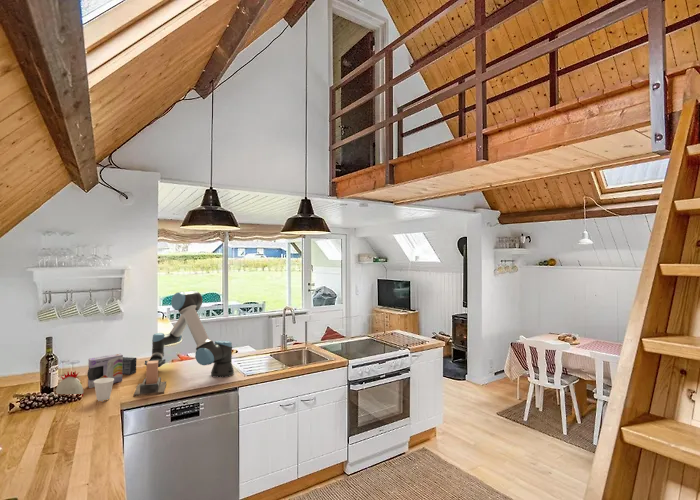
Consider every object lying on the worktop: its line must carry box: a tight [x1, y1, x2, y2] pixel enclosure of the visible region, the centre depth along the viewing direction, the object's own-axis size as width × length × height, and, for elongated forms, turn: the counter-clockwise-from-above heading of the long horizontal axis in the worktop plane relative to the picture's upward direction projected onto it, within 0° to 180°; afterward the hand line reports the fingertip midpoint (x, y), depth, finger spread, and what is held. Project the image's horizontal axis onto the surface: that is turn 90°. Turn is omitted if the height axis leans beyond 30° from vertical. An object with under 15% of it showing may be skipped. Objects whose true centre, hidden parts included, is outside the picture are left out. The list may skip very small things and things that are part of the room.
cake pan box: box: [86, 353, 124, 389], centre depth 245 cm, size 19×5×18 cm, turn 137°
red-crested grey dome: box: [55, 370, 84, 397], centre depth 223 cm, size 14×14×15 cm
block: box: [145, 360, 159, 384], centre depth 244 cm, size 6×6×14 cm
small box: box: [122, 356, 138, 376], centre depth 268 cm, size 11×6×10 cm, turn 84°
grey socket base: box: [132, 376, 167, 398], centre depth 238 cm, size 16×20×6 cm
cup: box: [94, 378, 114, 402], centre depth 220 cm, size 10×10×11 cm
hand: (152, 368), depth 248 cm, fingers closed
